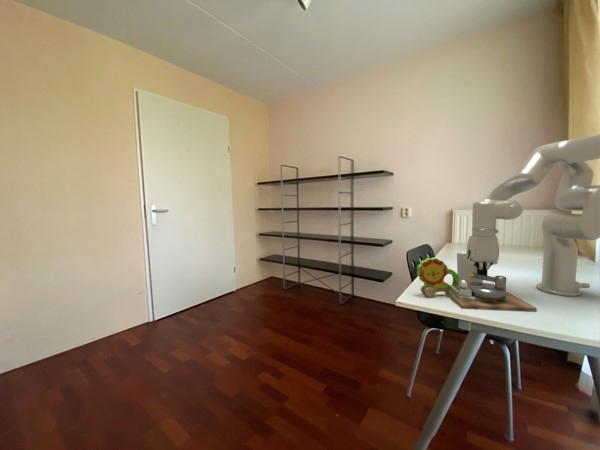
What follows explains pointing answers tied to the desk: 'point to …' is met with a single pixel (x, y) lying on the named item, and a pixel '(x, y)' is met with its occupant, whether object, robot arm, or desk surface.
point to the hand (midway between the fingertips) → (481, 278)
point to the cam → (488, 287)
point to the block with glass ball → (464, 288)
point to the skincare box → (465, 268)
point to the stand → (489, 302)
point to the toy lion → (435, 276)
